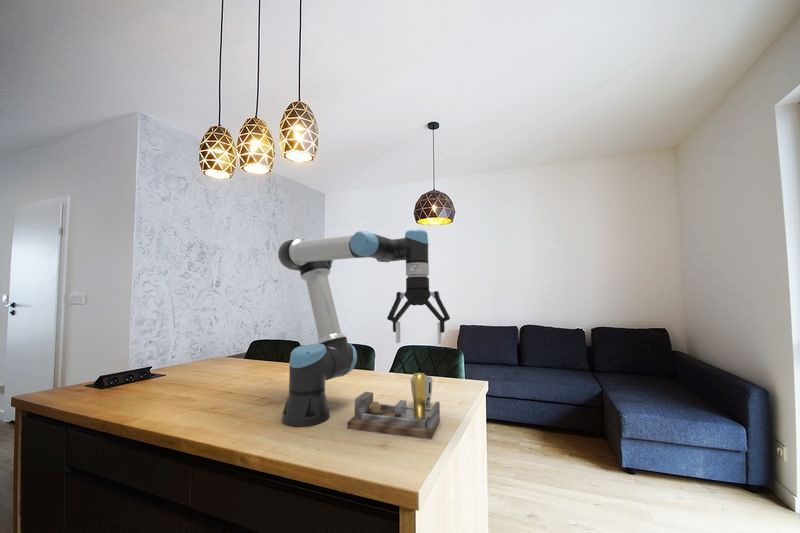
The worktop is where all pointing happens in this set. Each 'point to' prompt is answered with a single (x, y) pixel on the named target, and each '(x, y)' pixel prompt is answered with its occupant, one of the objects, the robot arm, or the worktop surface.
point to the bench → (392, 419)
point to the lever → (418, 401)
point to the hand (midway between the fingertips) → (418, 343)
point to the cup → (427, 389)
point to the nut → (374, 408)
